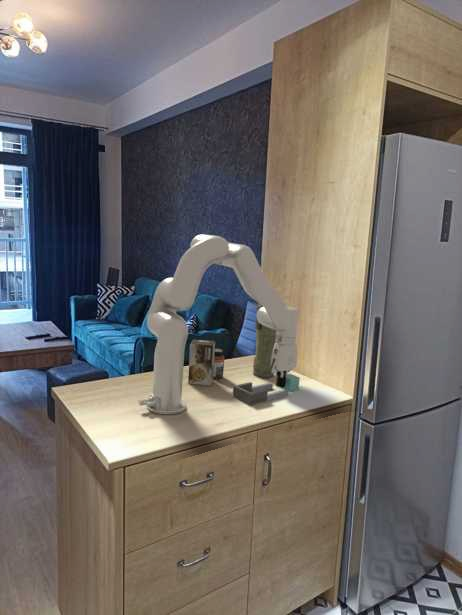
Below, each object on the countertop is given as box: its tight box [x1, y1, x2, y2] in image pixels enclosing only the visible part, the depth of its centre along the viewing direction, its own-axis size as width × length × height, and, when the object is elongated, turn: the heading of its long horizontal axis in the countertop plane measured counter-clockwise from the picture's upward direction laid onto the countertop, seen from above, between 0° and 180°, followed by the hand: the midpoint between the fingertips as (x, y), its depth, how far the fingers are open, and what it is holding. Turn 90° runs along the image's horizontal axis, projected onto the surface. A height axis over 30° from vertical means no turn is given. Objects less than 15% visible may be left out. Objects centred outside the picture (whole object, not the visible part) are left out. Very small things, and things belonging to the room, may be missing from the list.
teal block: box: [279, 373, 301, 393], centre depth 176 cm, size 5×5×5 cm
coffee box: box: [187, 339, 216, 387], centre depth 174 cm, size 9×6×16 cm
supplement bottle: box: [213, 348, 225, 380], centre depth 181 cm, size 6×6×11 cm
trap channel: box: [232, 381, 289, 406], centre depth 166 cm, size 19×9×4 cm, turn 130°
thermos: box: [252, 303, 277, 379], centre depth 187 cm, size 9×12×35 cm
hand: (280, 386), depth 172 cm, fingers closed
